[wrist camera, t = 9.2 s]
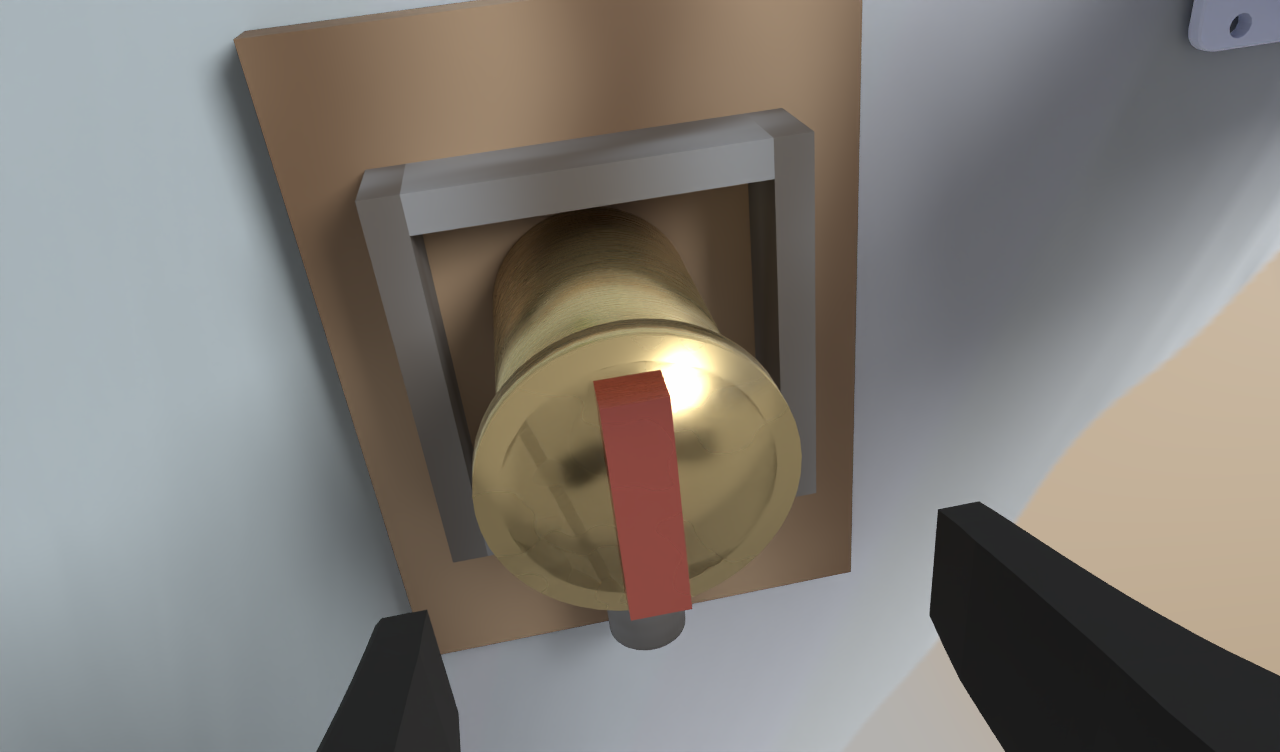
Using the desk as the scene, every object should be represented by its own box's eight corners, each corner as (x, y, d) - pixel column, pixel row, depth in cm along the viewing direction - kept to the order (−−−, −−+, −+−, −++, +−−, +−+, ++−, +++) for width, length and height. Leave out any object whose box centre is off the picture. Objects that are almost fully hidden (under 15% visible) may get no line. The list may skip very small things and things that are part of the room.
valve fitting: (697, 171, 19) (817, 333, 12) (713, 382, 22) (818, 611, 15) (451, 208, 19) (437, 397, 12) (497, 418, 21) (506, 671, 15)
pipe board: (844, -49, 18) (906, -36, 16) (838, 549, 26) (878, 622, 24) (244, 31, 17) (206, 59, 15) (427, 630, 25) (424, 717, 23)
